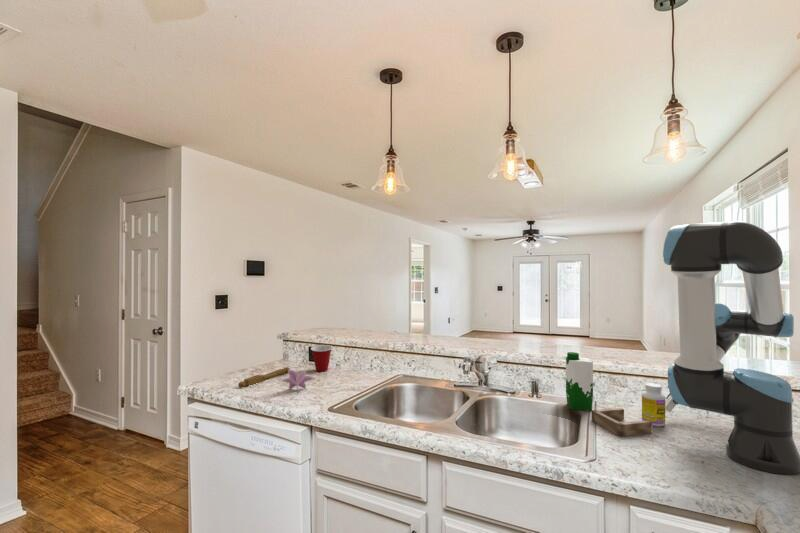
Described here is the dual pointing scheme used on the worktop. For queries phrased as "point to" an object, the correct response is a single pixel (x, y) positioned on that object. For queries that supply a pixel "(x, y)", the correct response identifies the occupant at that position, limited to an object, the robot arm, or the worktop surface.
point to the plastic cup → (321, 357)
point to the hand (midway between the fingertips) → (666, 409)
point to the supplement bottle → (653, 404)
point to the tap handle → (262, 377)
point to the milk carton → (579, 382)
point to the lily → (297, 379)
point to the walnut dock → (622, 429)
